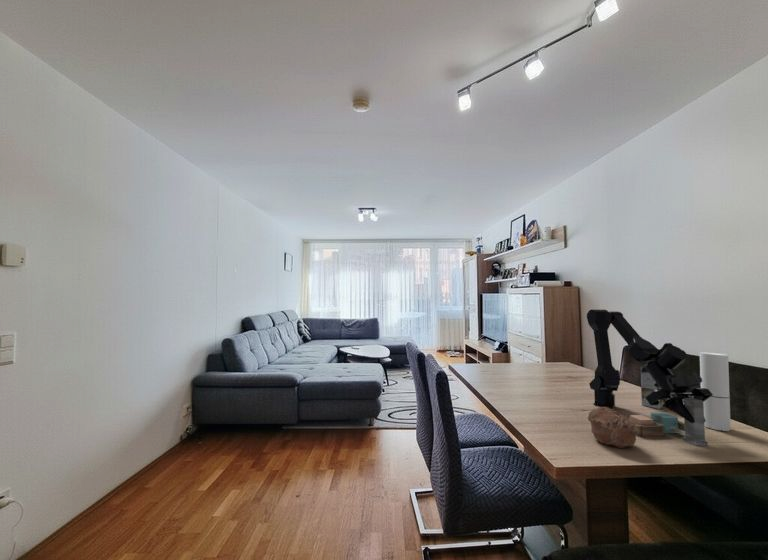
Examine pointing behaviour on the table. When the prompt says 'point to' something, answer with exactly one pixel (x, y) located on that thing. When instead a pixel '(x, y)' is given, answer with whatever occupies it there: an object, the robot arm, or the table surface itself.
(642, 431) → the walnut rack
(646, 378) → the coffee box
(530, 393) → the table surface
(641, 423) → the block
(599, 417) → the decorative rock
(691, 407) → the grey teal angled piece
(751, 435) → the table surface
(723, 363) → the cylindrical container
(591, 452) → the table surface
